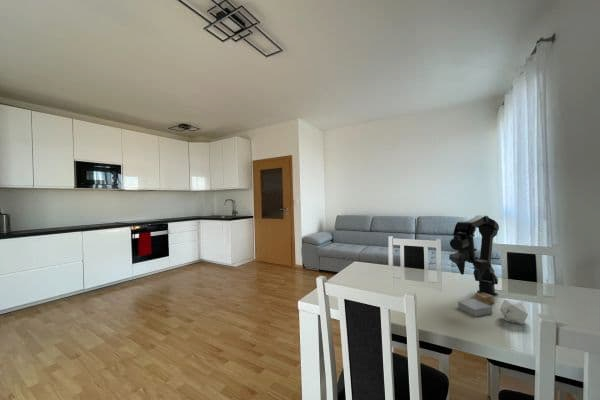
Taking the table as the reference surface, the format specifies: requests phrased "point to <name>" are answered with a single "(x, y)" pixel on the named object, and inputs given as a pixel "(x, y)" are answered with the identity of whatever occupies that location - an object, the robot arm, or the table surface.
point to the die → (513, 311)
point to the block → (485, 298)
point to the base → (475, 307)
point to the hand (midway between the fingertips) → (470, 277)
